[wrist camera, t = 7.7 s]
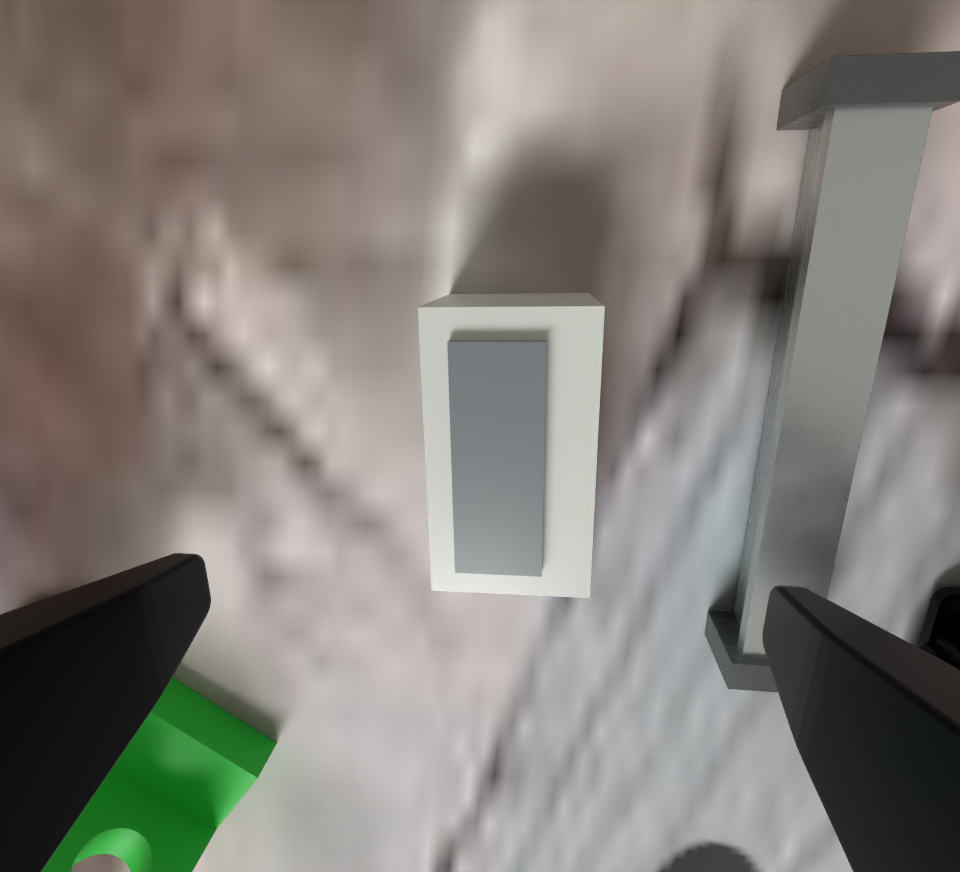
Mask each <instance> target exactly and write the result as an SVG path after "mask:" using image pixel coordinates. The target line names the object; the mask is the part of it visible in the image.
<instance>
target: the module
mask: <svg viewBox="0 0 960 872" xmlns="http://www.w3.org/2000/svg"><path fill="white" fill-rule="evenodd" d="M604 313H605V306H604V305H603V304H602V303H601V302H599V301H598V300H597V299H596V298H595V297H593V296H592V295H591V294H590V293H518V294H449V295H446V296H444V297H442V298H439V299H437V300H434V301H432V302H430V303H427V304H425V305H422V306H420V307H418V319H419V339H420V360H421V381H422V401H423V422H424V443H425V463H426V484H427V505H428V525H429V546H430V566H431V587H432V590H435V591H456V592H476V593H497V594H517V595H538V596H558V597H578V598H590V583H591V564H592V544H593V525H594V506H595V487H596V467H597V448H598V429H599V410H600V390H601V371H602V352H603V332H604Z"/></svg>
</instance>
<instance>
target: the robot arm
mask: <svg viewBox="0 0 960 872" xmlns="http://www.w3.org/2000/svg"><path fill="white" fill-rule="evenodd" d="M952 600H955V601H954V602H953V603H952V604H951V605H948V606H947V604H948V603H949V602H951V601H952ZM210 604H211V596H210V590H209V584H208V578H207V573H206V567H205V563H204V560H203V558H202V557H201V556H199V555H197V554H184V553H175V554H171V555H169V556H166V557H163V558H160V559H157V560H154V561H151V562H149V563H146V564H143V565H140V566H137V567H134V568H132V569H129V570H126V571H123V572H120V573H117V574H114V575H112V576H109V577H106V578H103V579H100V580H97V581H95V582H92V583H89V584H86V585H83V586H80V587H77V588H75V589H72V590H69V591H66V592H63V593H60V594H58V595H55V596H52V597H49V598H46V599H43V600H40V601H38V602H35V603H32V604H29V605H26V606H23V607H21V608H18V609H15V610H12V611H9V612H6V613H3V614H1V615H0V872H42V870H43V869H44V867H45V866H46V864H47V863H48V861H49V860H50V859H51V857H52V856H53V854H54V853H55V851H56V850H57V848H58V847H59V845H60V844H61V842H62V841H63V840H64V838H65V837H66V835H67V834H68V832H69V831H70V829H71V828H72V826H73V825H74V823H75V822H76V821H77V819H78V818H79V816H80V815H81V813H82V812H83V810H84V809H85V807H86V806H87V804H88V803H89V802H90V800H91V799H92V797H93V796H94V794H95V793H96V791H97V790H98V788H99V787H100V786H101V784H102V783H103V781H104V780H105V778H106V777H107V775H108V774H109V772H110V771H111V769H112V768H113V767H114V765H115V764H116V762H117V761H118V759H119V758H120V756H121V755H122V753H123V752H124V750H125V749H126V748H127V746H128V745H129V743H130V742H131V740H132V739H133V737H134V736H135V734H136V733H137V732H138V730H139V729H140V727H141V726H142V724H143V723H144V721H145V720H146V718H147V717H148V715H149V714H150V713H151V711H152V710H153V708H154V707H155V705H156V703H157V702H158V700H159V699H160V697H161V696H162V694H163V692H164V691H165V689H166V687H167V686H168V684H169V682H170V681H171V679H172V677H173V675H174V673H175V672H176V670H177V668H178V666H179V664H180V663H181V661H182V659H183V657H184V655H185V654H186V652H187V650H188V648H189V646H190V645H191V643H192V641H193V639H194V637H195V636H196V634H197V632H198V630H199V628H200V627H201V625H202V623H203V621H204V619H205V618H206V616H207V614H208V611H209V608H210ZM762 640H763V647H764V650H765V653H766V656H767V660H768V663H769V666H770V669H771V672H772V675H773V678H774V681H775V684H776V687H777V690H778V693H779V696H780V699H781V702H782V705H783V708H784V711H785V714H786V717H787V720H788V723H789V726H790V729H791V732H792V735H793V737H794V740H795V743H796V746H797V748H798V750H799V753H800V755H801V757H802V760H803V762H804V764H805V766H806V769H807V771H808V773H809V775H810V777H811V780H812V782H813V784H814V786H815V788H816V791H817V793H818V795H819V797H820V799H821V802H822V804H823V806H824V808H825V810H826V813H827V815H828V817H829V819H830V821H831V824H832V826H833V828H834V830H835V832H836V835H837V837H838V839H839V841H840V843H841V846H842V848H843V850H844V852H845V854H846V857H847V859H848V861H849V863H850V865H851V868H852V870H853V872H960V587H946V588H942V589H940V590H938V591H937V592H935V593H934V594H933V596H932V598H931V601H930V605H929V608H928V612H927V615H926V619H925V622H924V626H923V629H922V633H921V636H920V640H919V643H918V647H916V646H914V645H912V644H910V643H908V642H906V641H904V640H902V639H901V638H899V637H897V636H895V635H893V634H891V633H889V632H887V631H886V630H884V629H882V628H880V627H878V626H876V625H874V624H872V623H870V622H869V621H867V620H865V619H863V618H861V617H859V616H857V615H855V614H854V613H852V612H850V611H848V610H846V609H844V608H842V607H840V606H838V605H837V604H835V603H833V602H831V601H829V600H827V599H825V598H823V597H822V596H820V595H818V594H816V593H814V592H812V591H810V590H808V589H807V588H804V587H800V586H782V585H779V586H775V587H773V588H772V590H771V592H770V594H769V599H768V604H767V610H766V615H765V621H764V626H763V633H762Z"/></svg>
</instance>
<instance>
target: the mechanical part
mask: <svg viewBox="0 0 960 872" xmlns="http://www.w3.org/2000/svg"><path fill="white" fill-rule="evenodd" d="M275 745H276V742H275V741H273V740H272V739H270V738H268V737H267V736H265V735H264V734H262V733H260V732H259V731H257V730H256V729H254V728H252V727H251V726H249V725H248V724H246V723H244V722H243V721H241V720H240V719H238V718H236V717H235V716H233V715H232V714H230V713H228V712H227V711H225V710H224V709H222V708H220V707H219V706H217V705H216V704H214V703H212V702H211V701H209V700H208V699H206V698H204V697H203V696H201V695H200V694H198V693H197V692H195V691H193V690H192V689H190V688H189V687H187V686H185V685H184V684H182V683H181V682H179V681H177V680H176V679H174V678H173V677H172V679H171V681H170V682H169V684H168V686H167V687H166V689H165V691H164V692H163V694H162V696H161V697H160V699H159V700H158V702H157V703H156V705H155V707H154V708H153V710H152V711H151V713H150V714H149V715H148V717H147V718H146V720H145V721H144V723H143V724H142V726H141V727H140V729H139V730H138V732H137V733H136V734H135V736H134V737H133V739H132V740H131V742H130V743H129V745H128V746H127V748H126V749H125V750H124V752H123V753H122V755H121V756H120V758H119V759H118V761H117V762H116V764H115V765H114V767H113V768H112V769H111V771H110V772H109V774H108V775H107V777H106V778H105V780H104V781H103V783H102V784H101V786H100V787H99V788H98V790H97V791H96V793H95V794H94V796H93V797H92V799H91V800H90V802H89V803H88V804H87V806H86V807H85V809H84V810H83V812H82V813H81V815H80V816H79V818H78V819H77V821H76V822H75V823H74V825H73V826H72V828H71V829H70V831H69V832H68V834H67V835H66V837H65V838H64V840H63V841H62V842H61V844H60V845H59V847H58V848H57V850H56V851H55V853H54V854H53V856H52V857H51V859H50V860H49V861H48V863H47V864H46V866H45V867H44V869H43V870H42V872H71V869H72V866H73V865H75V864H76V863H77V862H79V861H80V860H82V859H84V858H86V857H89V856H92V855H96V854H111V855H114V856H117V857H119V858H121V859H122V860H123V861H124V862H125V863H126V864H127V865H128V867H129V868H130V871H131V872H192V871H193V869H194V867H195V866H196V864H197V862H198V860H199V859H200V857H201V855H202V853H203V852H204V850H205V848H206V846H207V845H208V843H209V841H210V839H211V838H212V836H213V834H214V832H215V831H216V829H217V828H218V826H219V825H220V824H221V823H222V821H223V820H224V819H225V818H226V817H227V815H228V814H229V813H230V812H231V810H232V809H233V808H234V807H235V805H236V804H237V803H238V802H239V800H240V799H241V798H242V797H243V795H244V794H245V793H246V792H247V790H248V789H249V788H250V787H251V786H252V784H253V783H254V782H255V781H256V779H257V778H258V776H259V775H260V773H261V771H262V769H263V767H264V765H265V764H266V762H267V760H268V758H269V756H270V754H271V753H272V751H273V749H274V747H275Z"/></svg>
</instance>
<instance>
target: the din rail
mask: <svg viewBox="0 0 960 872" xmlns="http://www.w3.org/2000/svg"><path fill="white" fill-rule="evenodd" d="M959 101H960V51H953V52H927V53H901V54H875V55H849V56H831V57H829V58H828V59H827V60H825V61H824V62H822V63H821V64H819V65H818V66H816V67H815V68H813V69H812V70H811V71H809V72H808V73H806V74H805V75H803V76H802V77H800V78H799V79H798V80H796V81H795V82H793V83H792V84H790V85H789V86H787V87H786V88H785V89H783V90H782V96H781V103H780V110H779V117H778V124H777V130H804V129H810V133H809V139H808V145H807V152H806V158H805V164H804V171H803V177H802V183H801V190H800V196H799V202H798V208H797V215H796V221H795V227H794V234H793V240H792V246H791V253H790V259H789V265H788V271H787V278H786V284H785V290H784V297H783V303H782V309H781V315H780V322H779V328H778V334H777V341H776V347H775V353H774V360H773V366H772V372H771V378H770V385H769V391H768V397H767V404H766V410H765V416H764V423H763V429H762V435H761V441H760V448H759V454H758V460H757V467H756V473H755V479H754V486H753V492H752V498H751V504H750V511H749V517H748V523H747V530H746V536H745V542H744V549H743V555H742V561H741V567H740V574H739V580H738V586H737V593H736V599H735V605H734V612H733V613H722V612H708V616H707V623H706V630H705V636H706V638H707V641H708V643H709V645H710V648H711V650H712V652H713V655H714V657H715V659H716V662H717V664H718V666H719V669H720V671H721V673H722V676H723V678H724V680H725V683H726V685H727V687H728V689H739V690H753V691H767V692H778V690H777V687H776V684H775V681H774V678H773V675H772V672H771V669H770V666H769V663H768V660H767V656H766V653H765V650H764V647H763V640H762V633H763V626H764V621H765V615H766V610H767V604H768V599H769V594H770V592H771V590H772V588H773V587H775V586H779V585H782V586H800V587H804V588H807V589H808V590H810V591H812V592H814V593H816V594H818V595H820V596H822V597H823V598H825V599H826V598H827V593H828V589H829V584H830V580H831V575H832V570H833V566H834V561H835V556H836V552H837V547H838V543H839V538H840V533H841V529H842V524H843V520H844V515H845V510H846V506H847V501H848V496H849V492H850V487H851V483H852V478H853V473H854V469H855V464H856V460H857V455H858V450H859V446H860V441H861V436H862V432H863V427H864V423H865V418H866V413H867V409H868V404H869V400H870V395H871V390H872V386H873V381H874V376H875V372H876V367H877V363H878V358H879V353H880V349H881V344H882V340H883V335H884V330H885V326H886V321H887V316H888V312H889V307H890V303H891V298H892V293H893V289H894V284H895V279H896V275H897V270H898V266H899V261H900V256H901V252H902V247H903V243H904V238H905V233H906V229H907V224H908V219H909V215H910V210H911V206H912V201H913V196H914V192H915V187H916V183H917V178H918V173H919V169H920V164H921V159H922V155H923V150H924V146H925V141H926V136H927V132H928V127H929V123H930V118H931V113H932V111H935V110H938V109H940V108H943V107H946V106H949V105H951V104H954V103H957V102H959Z"/></svg>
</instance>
